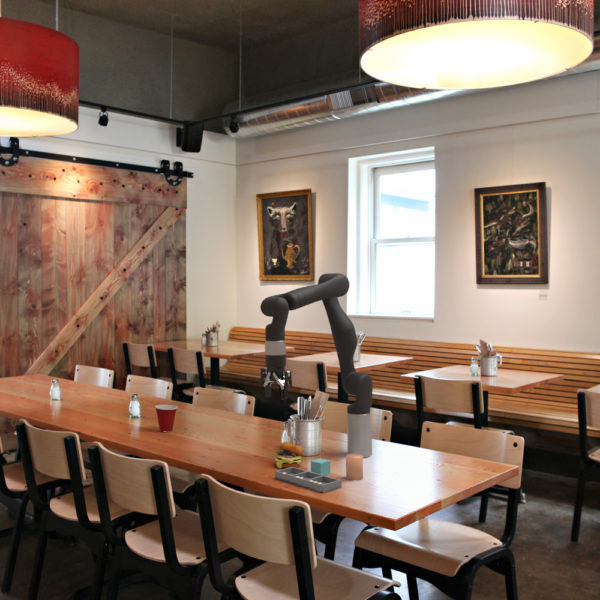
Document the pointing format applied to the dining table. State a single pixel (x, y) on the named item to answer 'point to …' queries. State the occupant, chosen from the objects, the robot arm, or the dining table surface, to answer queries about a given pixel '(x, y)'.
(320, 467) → the teal block
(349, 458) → the terracotta jar
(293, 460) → the cheeseburger
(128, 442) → the dining table surface
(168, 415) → the plastic cup
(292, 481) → the slot tray
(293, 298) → the robot arm
